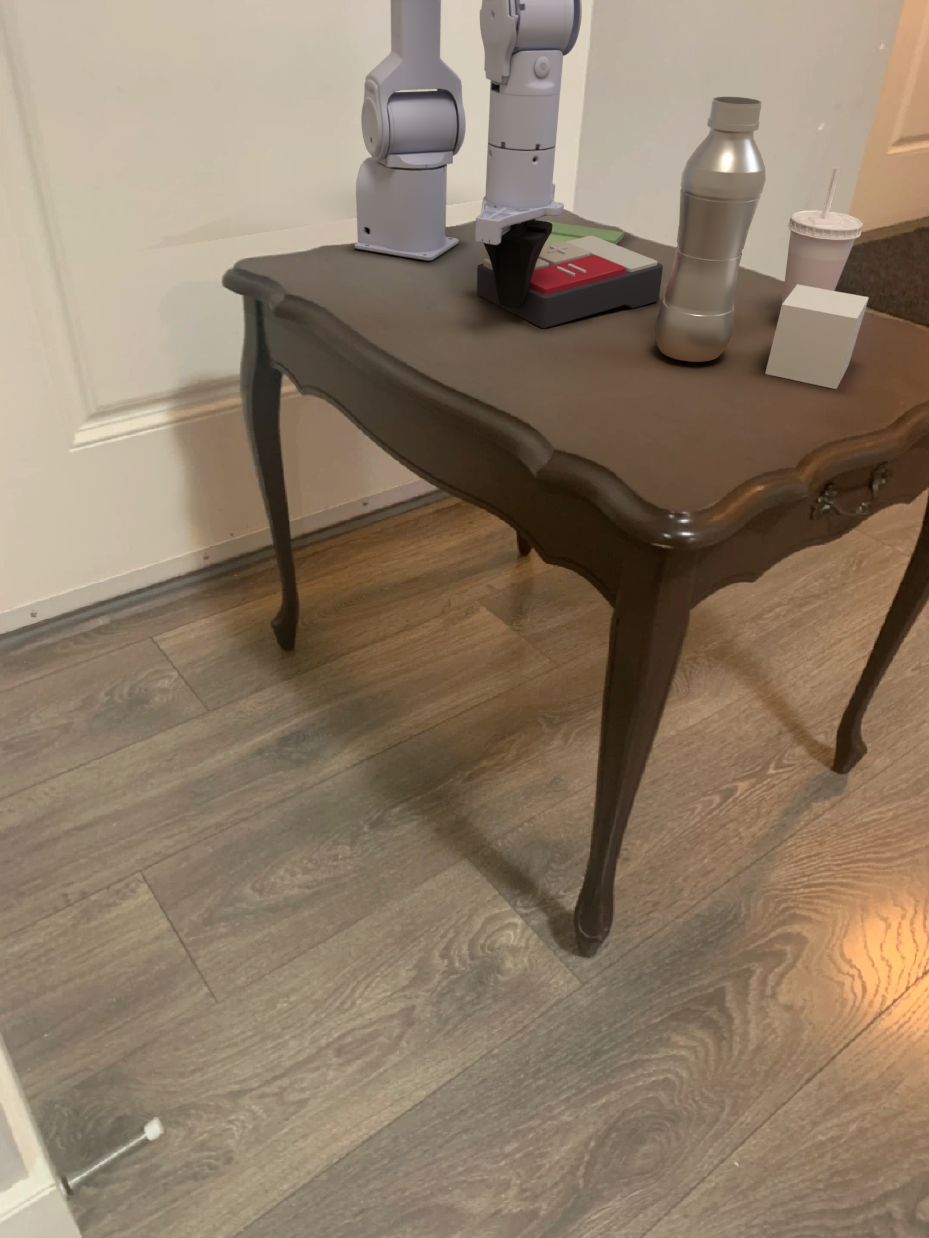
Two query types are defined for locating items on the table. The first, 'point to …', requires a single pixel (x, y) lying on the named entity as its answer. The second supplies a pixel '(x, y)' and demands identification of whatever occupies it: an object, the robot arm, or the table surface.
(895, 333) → the table surface
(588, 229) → the cloth
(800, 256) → the smoothie
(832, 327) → the off-white cube
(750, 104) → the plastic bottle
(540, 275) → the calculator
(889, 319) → the table surface
